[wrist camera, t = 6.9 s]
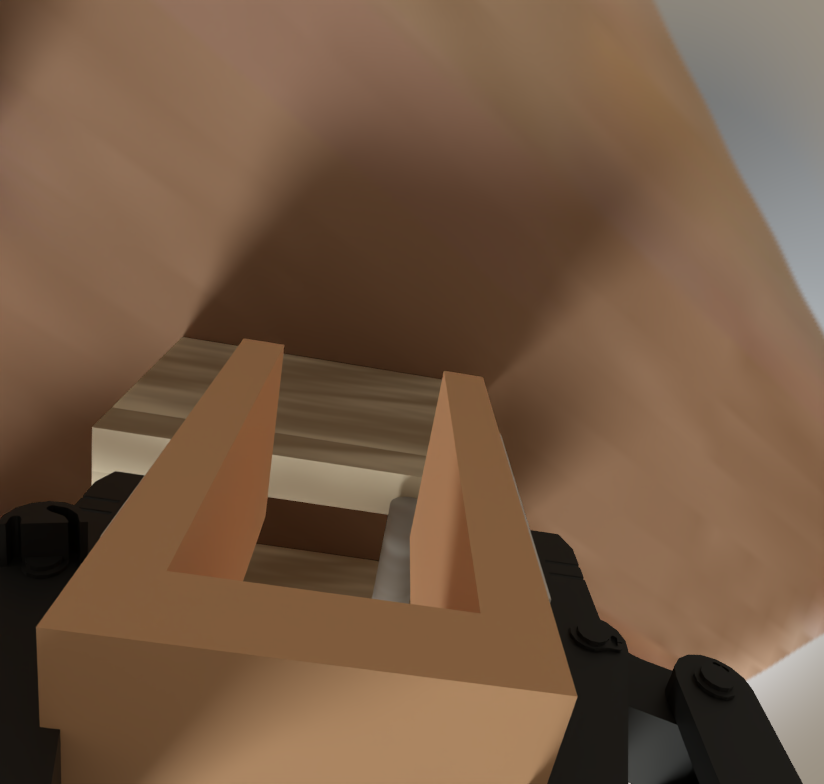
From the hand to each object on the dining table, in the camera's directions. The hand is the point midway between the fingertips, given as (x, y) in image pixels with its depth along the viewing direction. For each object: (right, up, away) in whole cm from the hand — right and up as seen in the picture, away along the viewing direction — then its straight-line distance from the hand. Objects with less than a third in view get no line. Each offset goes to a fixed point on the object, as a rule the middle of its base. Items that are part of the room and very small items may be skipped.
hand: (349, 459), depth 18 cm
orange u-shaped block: (0, 0, 0) cm, 0 cm away
